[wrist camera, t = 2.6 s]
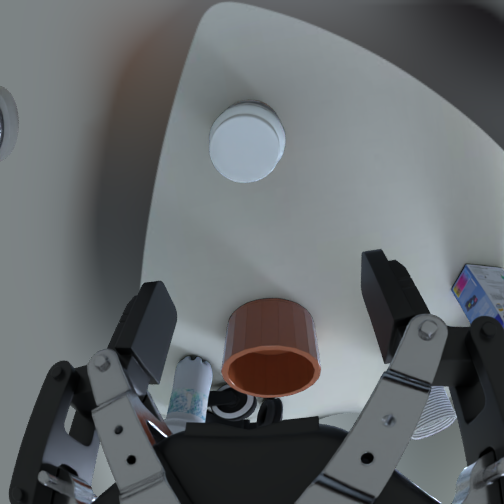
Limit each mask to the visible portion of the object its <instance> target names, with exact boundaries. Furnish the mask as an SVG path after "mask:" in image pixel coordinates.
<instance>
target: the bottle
mask: <svg viewBox="0 0 504 504" xmlns="http://www.w3.org/2000/svg"><path fill="white" fill-rule="evenodd" d="M212 377H213V374H212V370H211V366H210V364H209V362H207V361H205V362H204V363H202V360H201V358H200V357H196V359H195V360H194V361H193V360H191V357H190V356H188V357H185V358H184V360H181V361H180V362H179V363H178V365H177V367H176V371H175V376H174V383H173V390H172V394H171V398H170V403H169V407H168V412H167V417H166V419H165V420H164V421H165V423H166V425H167V426H168V428H169V429H170V431H171V432H172V433H173V434H175V433H178V432H181V431H185V427H186V422H199V423H205V419H206V411H207V404H208V396H209V392H210V388H211V383H212Z"/></svg>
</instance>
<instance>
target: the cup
mask: <svg viewBox="0 0 504 504" xmlns="http://www.w3.org/2000/svg"><path fill="white" fill-rule="evenodd" d="M431 387H432V389H431V392H430V395H429V398H428V400H427V403H426V405H425V408H424V410H423V413H422V415H421V417H420V420H419V422H418V424H417V426H416V428H415V431H414V433H413V435H412V437H411V439H412V440H418V439H422V438H426V437H429V436H432V435H434V434H436V433H438V432H440V431H442V430H444V429H446V428H447V427H449V426H450V425H451V424H452V423H454V422H455V420H456V418H457V416H456V414H455V412H454V410H453V407H452V405H451V403H450V401H449V398H448V396H447V394H446V392H445V390H444V387H443V386H431Z"/></svg>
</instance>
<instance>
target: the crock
mask: <svg viewBox="0 0 504 504" xmlns="http://www.w3.org/2000/svg"><path fill="white" fill-rule="evenodd" d="M221 372H222V376H223V379H224V380H225V381H226V383H227V384H228V385H229V386H230V387H232V388H233V389H235V390H237V391H239V392H241V393H244V394H247V395H251V396H256V397H264V398H272V397H284V396H289V395H293V394H296V393H299V392H301V391H304V390H306V389H307V388H309V387H310V386H312V385H313V384H314V383H315V382H316V381H317V379H318V378H319V376H320V372H321V364H320V357H319V350H318V343H317V336H316V330H315V325H314V321H313V318H312V316H311V315H310V313H309V312H308V311H307V310H306V309H305V308H304V307H302V306H301V305H299V304H297V303H295V302H292V301H289V300H284V299H277V298H267V299H259V300H255V301H251V302H249V303H246V304H244V305H243V306H241V307H239V308H238V309H237V310H236V311H235V312H234V313H233V314H232V315H231V317H230V319H229V321H228V326H227V330H226V337H225V345H224V353H223V361H222V369H221Z"/></svg>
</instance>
